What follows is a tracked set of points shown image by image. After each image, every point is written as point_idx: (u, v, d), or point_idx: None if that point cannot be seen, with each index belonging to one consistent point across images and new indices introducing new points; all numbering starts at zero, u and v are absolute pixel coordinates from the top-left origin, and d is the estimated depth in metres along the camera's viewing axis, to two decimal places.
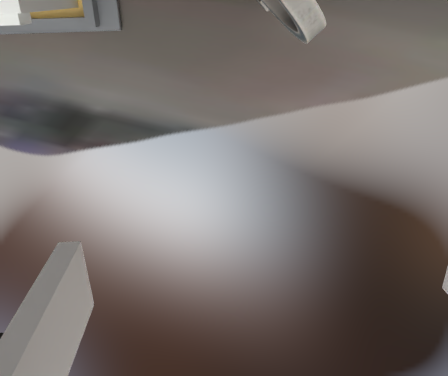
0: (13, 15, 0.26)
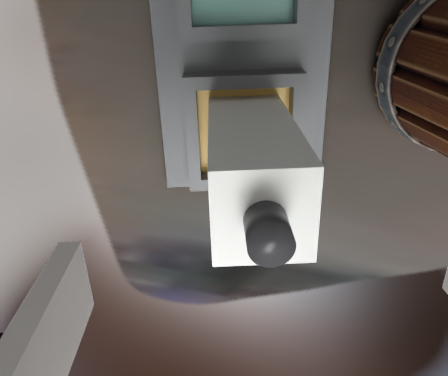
0: None
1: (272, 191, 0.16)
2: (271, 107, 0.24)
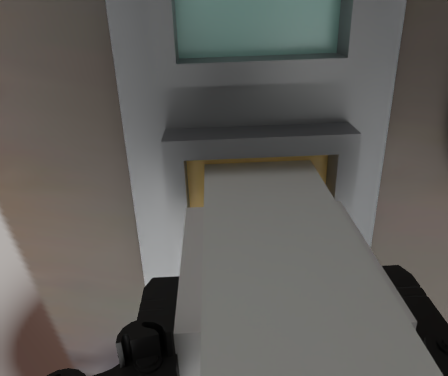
0: None
1: None
2: (306, 192, 0.15)
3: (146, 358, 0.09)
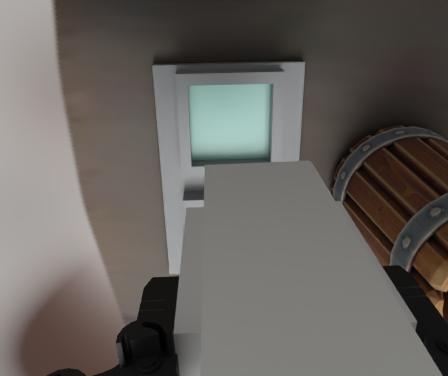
0: None
1: None
2: (306, 193, 0.15)
3: (146, 358, 0.09)
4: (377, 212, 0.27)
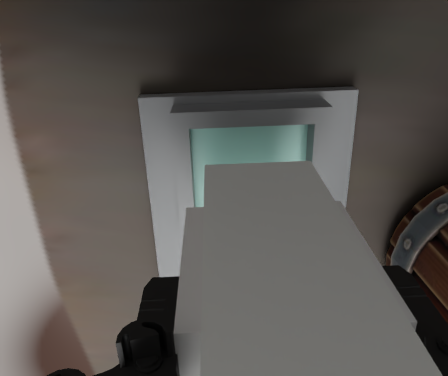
0: None
1: None
2: (306, 193, 0.15)
3: (146, 358, 0.09)
4: None
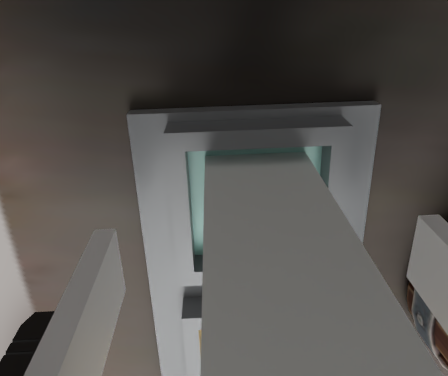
0: None
1: None
2: (300, 181, 0.16)
3: None
4: None
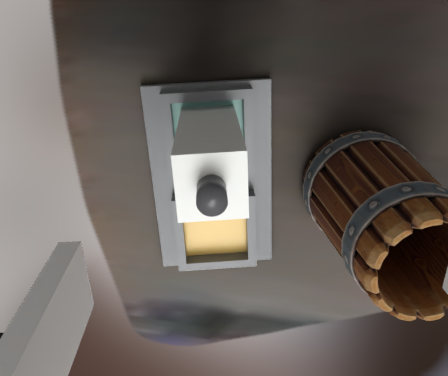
0: None
1: (214, 168, 0.24)
2: (225, 114, 0.32)
3: None
4: (333, 206, 0.32)
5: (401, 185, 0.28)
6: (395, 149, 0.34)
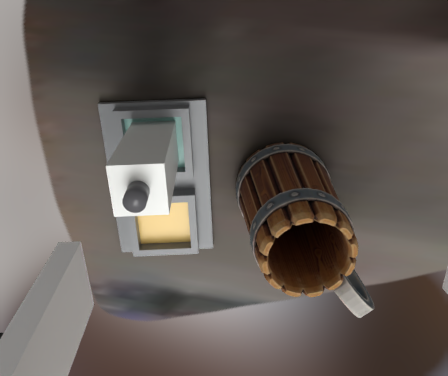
0: None
1: (139, 176, 0.32)
2: (164, 129, 0.40)
3: None
4: (248, 206, 0.39)
5: (292, 191, 0.35)
6: (304, 160, 0.41)
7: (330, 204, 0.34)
